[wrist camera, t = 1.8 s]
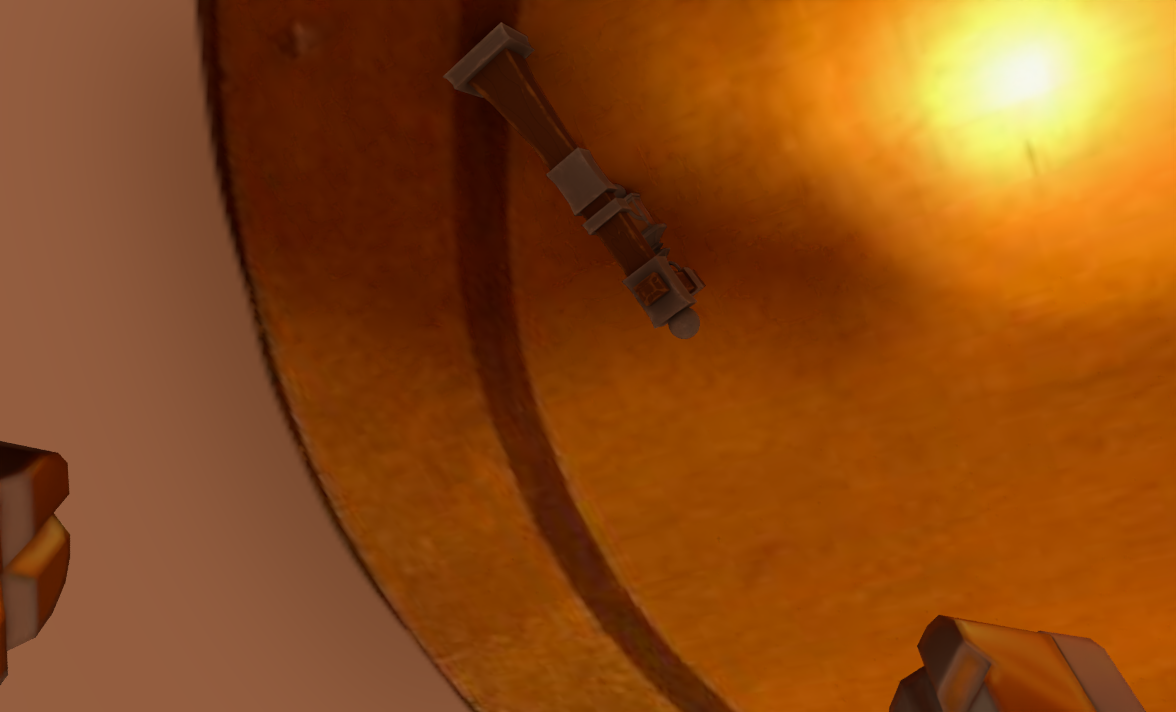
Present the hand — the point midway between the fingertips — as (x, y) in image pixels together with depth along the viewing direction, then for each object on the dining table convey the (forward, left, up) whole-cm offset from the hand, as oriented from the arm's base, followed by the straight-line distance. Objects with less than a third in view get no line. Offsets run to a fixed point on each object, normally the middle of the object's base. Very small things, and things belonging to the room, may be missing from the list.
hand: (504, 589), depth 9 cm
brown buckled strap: (+1, 0, -17) cm, 17 cm away
